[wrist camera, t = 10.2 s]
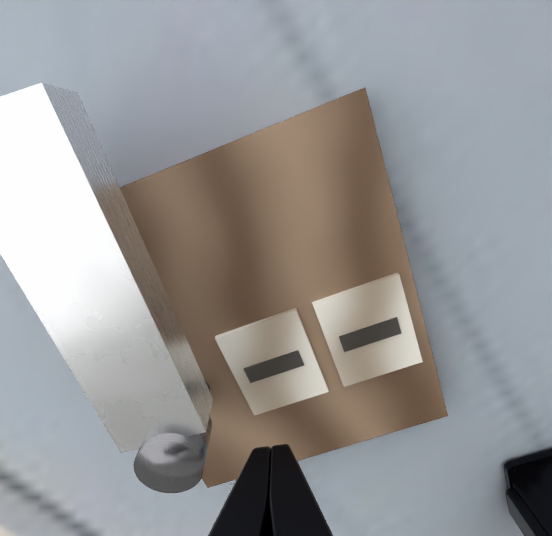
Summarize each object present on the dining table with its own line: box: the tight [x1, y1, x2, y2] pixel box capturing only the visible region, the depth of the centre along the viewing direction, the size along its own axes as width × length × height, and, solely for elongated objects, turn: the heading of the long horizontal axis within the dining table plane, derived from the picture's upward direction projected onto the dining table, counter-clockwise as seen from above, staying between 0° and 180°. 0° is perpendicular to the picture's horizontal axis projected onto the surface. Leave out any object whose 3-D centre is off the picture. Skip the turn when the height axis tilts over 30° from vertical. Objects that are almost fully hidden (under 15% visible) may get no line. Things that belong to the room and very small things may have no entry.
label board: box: [120, 88, 448, 488], centre depth 18 cm, size 16×19×4 cm
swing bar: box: [0, 83, 213, 493], centre depth 14 cm, size 16×4×2 cm, turn 16°
